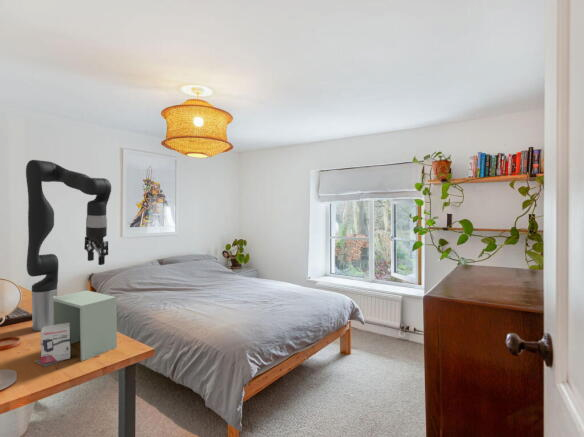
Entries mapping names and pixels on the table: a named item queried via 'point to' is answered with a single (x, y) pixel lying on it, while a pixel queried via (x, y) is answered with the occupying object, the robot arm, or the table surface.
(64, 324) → the ink box
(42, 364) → the coaster
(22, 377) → the table surface
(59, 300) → the cubby
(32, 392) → the table surface
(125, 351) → the table surface
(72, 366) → the table surface
